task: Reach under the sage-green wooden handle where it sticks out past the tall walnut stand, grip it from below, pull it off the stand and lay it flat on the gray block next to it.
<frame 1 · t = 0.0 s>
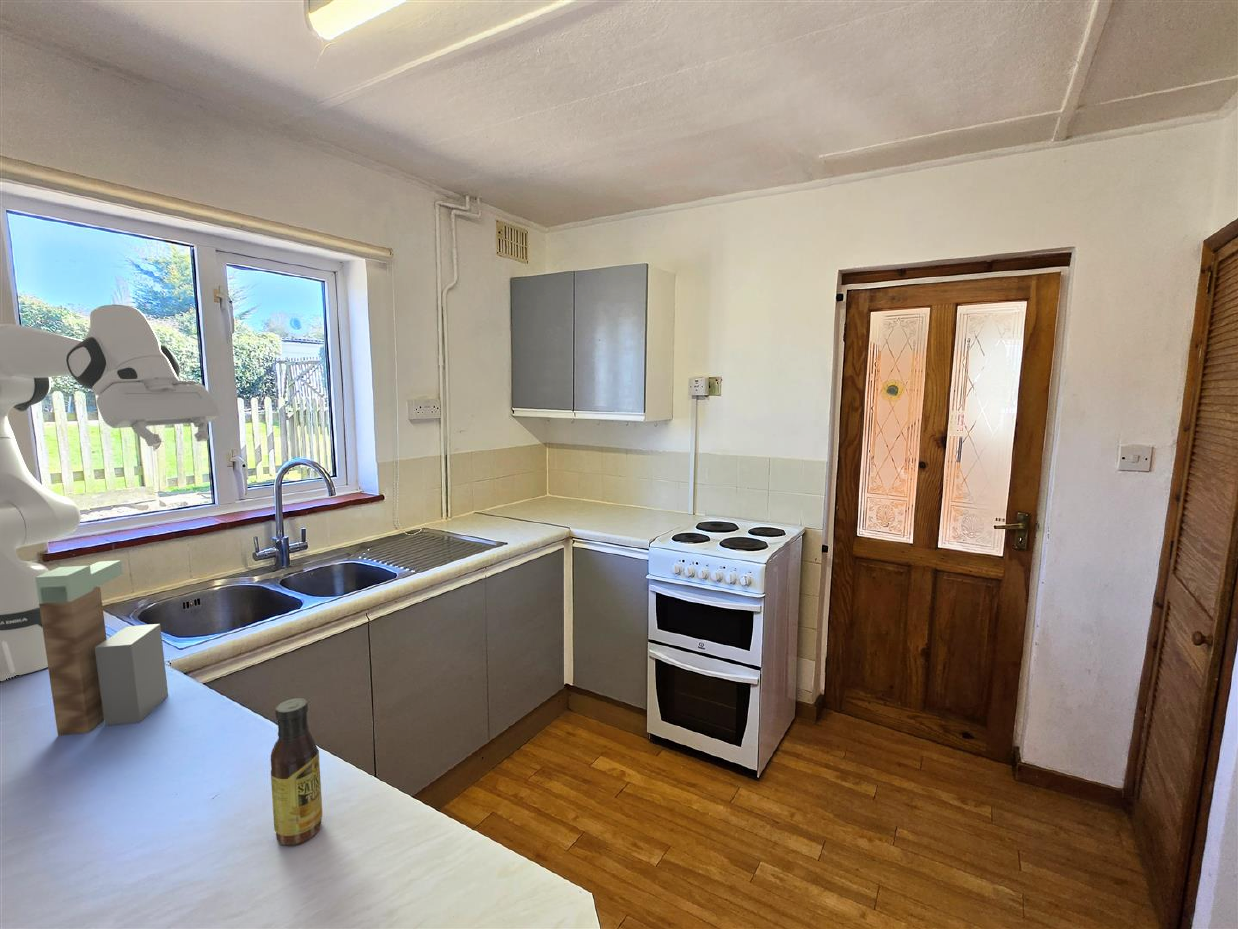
hand: (180, 442, 114), 54 cm above the table, tool tilted 30°, fingers open, 8 cm apart
sauce bottle: (300, 832, 86), on the table
walnut stand: (87, 722, 114), on the table
green handle: (85, 587, 114), point 26 cm above the table, touching walnut stand
gray block: (138, 709, 118), on the table
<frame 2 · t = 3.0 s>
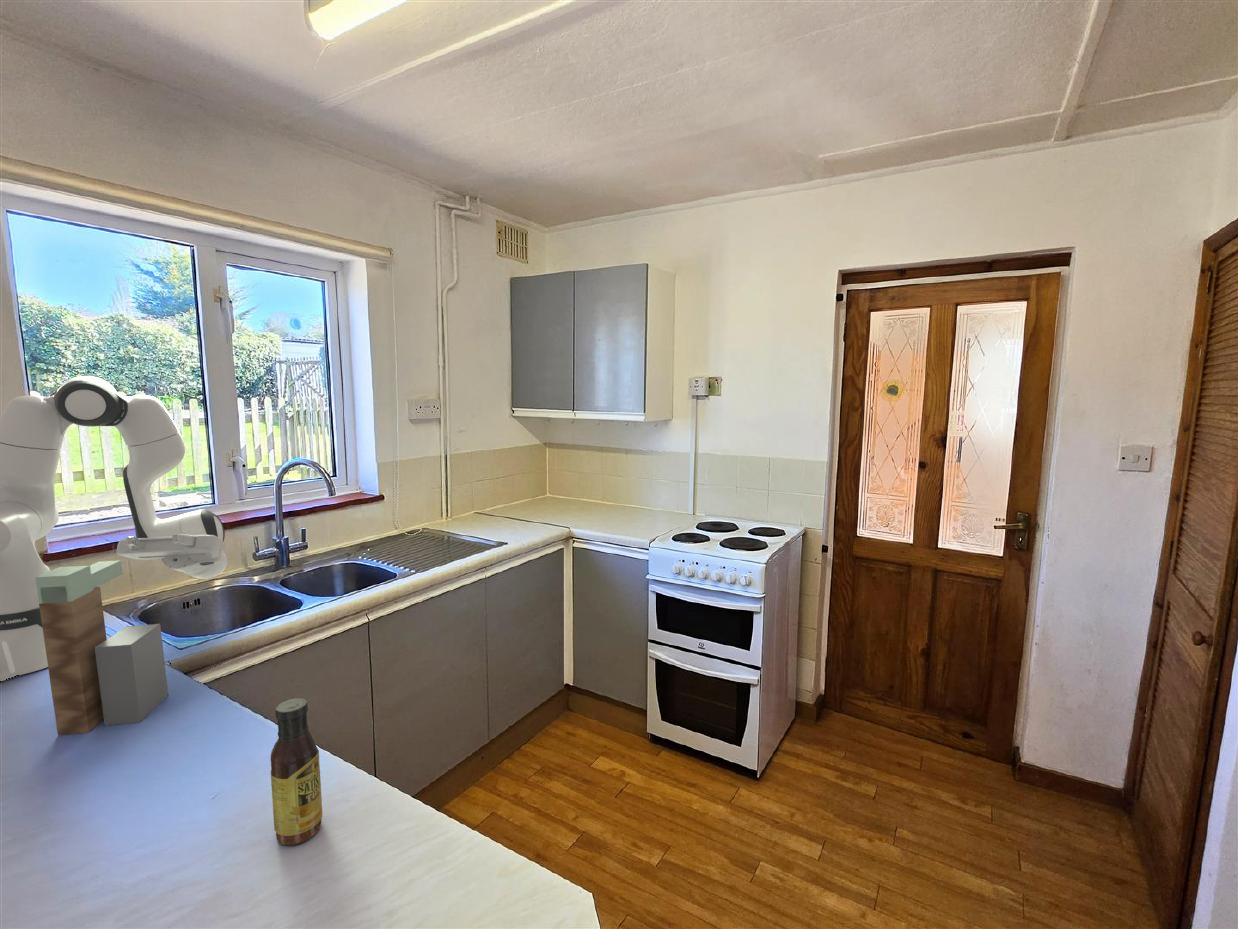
hand: (152, 538, 133), 30 cm above the table, tool pointing upward, fingers open, 8 cm apart
nothing on the table moved.
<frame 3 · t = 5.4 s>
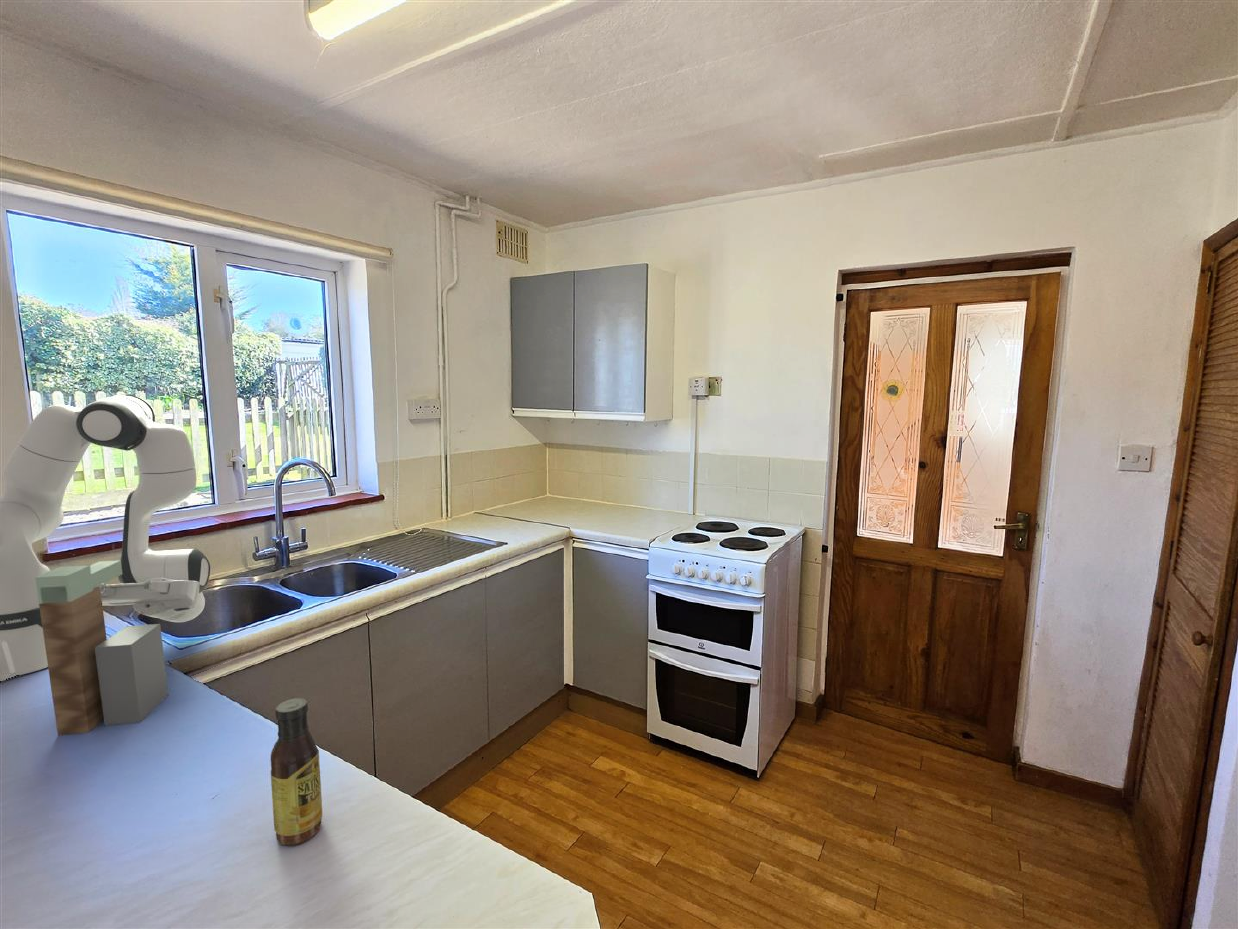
hand: (122, 586, 125), 22 cm above the table, tool pointing upward, fingers open, 8 cm apart
nothing on the table moved.
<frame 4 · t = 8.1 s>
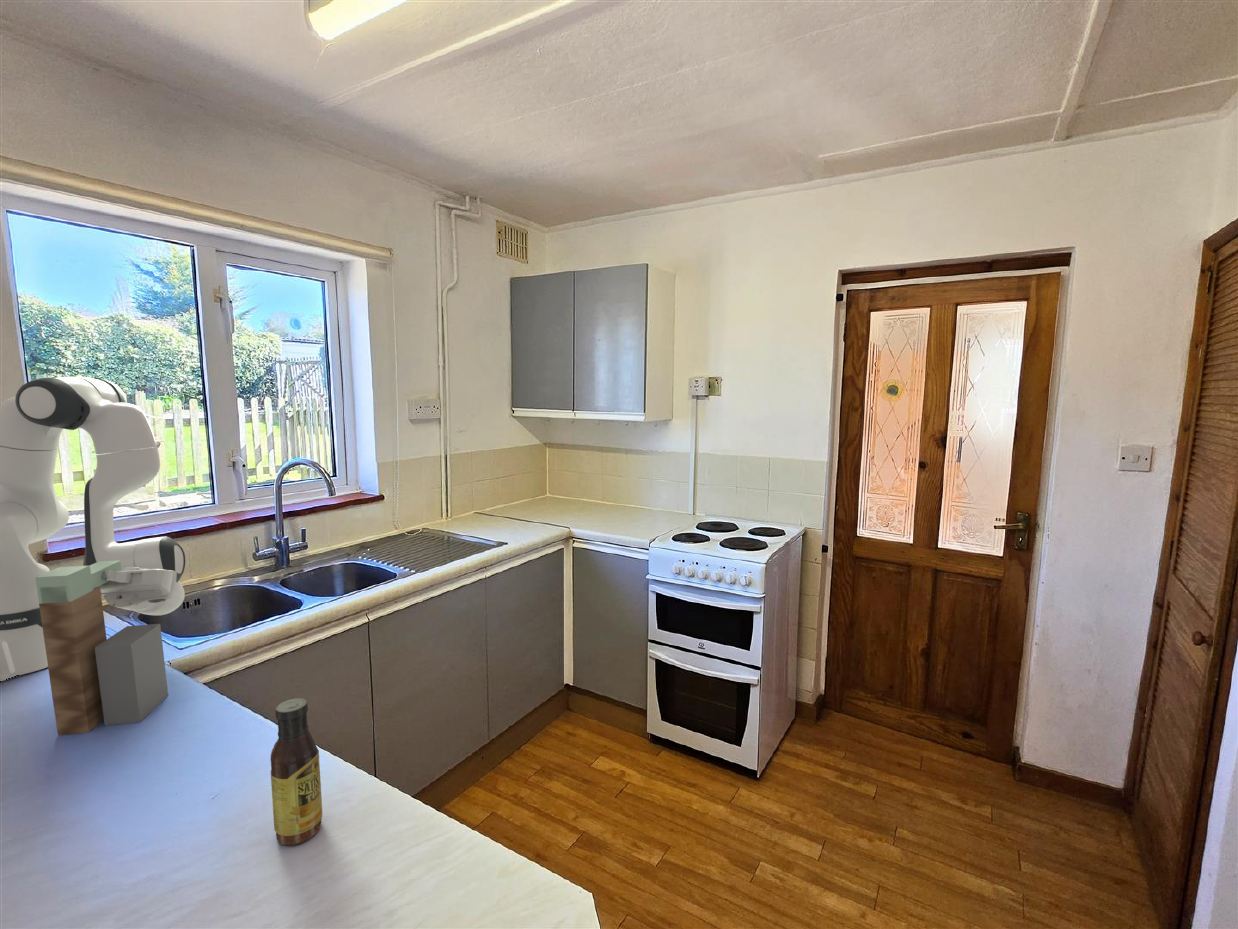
hand: (90, 575, 115), 28 cm above the table, tool pointing upward, fingers closed on green handle, 4 cm apart
green handle: (85, 587, 114), point 26 cm above the table, touching gripper, walnut stand
everything else where it was.
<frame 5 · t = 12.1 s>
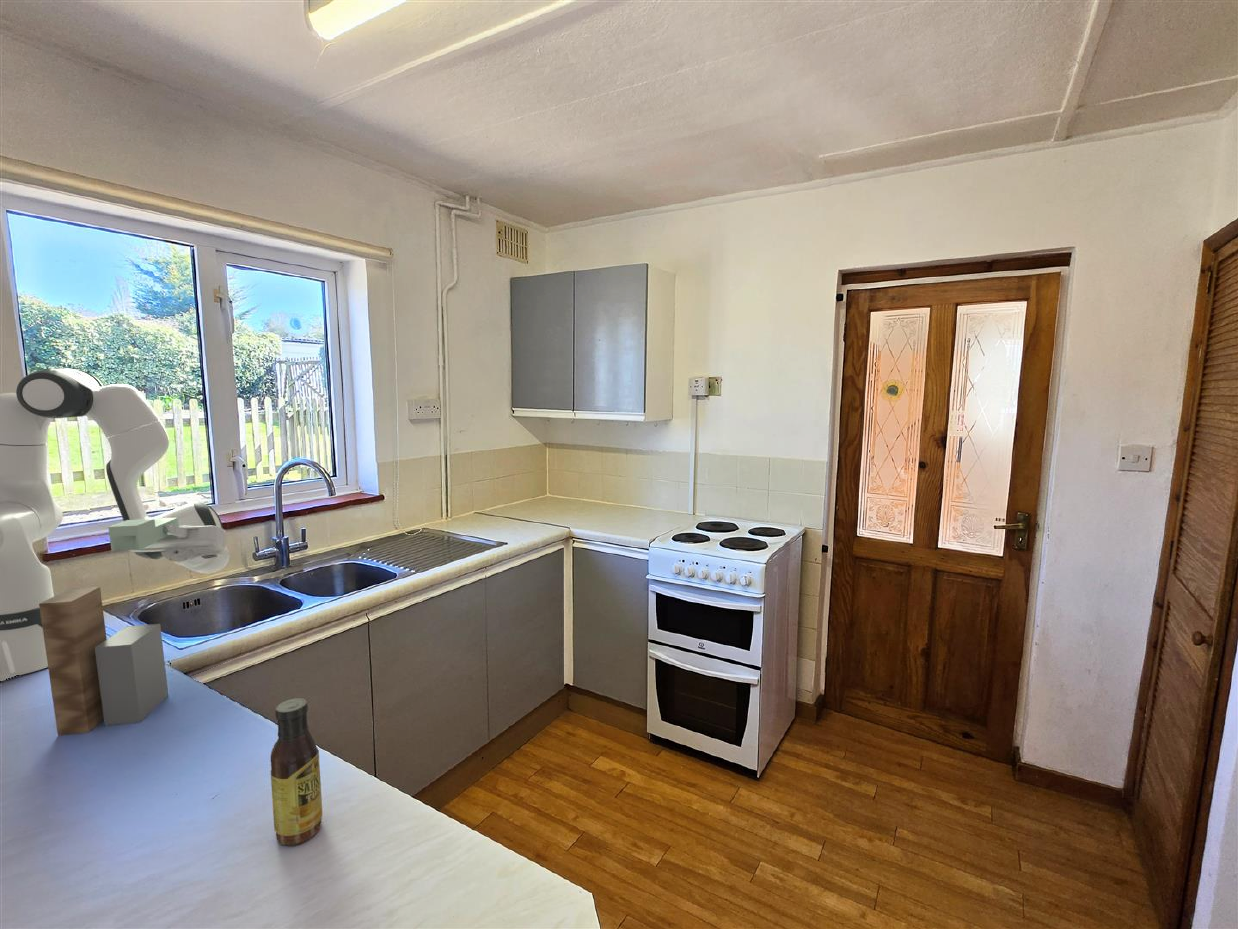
hand: (152, 529, 125), 35 cm above the table, tool pointing upward, fingers closed on green handle, 4 cm apart
green handle: (149, 540, 124), point 33 cm above the table, touching gripper
everything else where it was.
when the fingers open (20 cm above the table, at t = 16.5 s): green handle drops 2 cm, resting on gray block.
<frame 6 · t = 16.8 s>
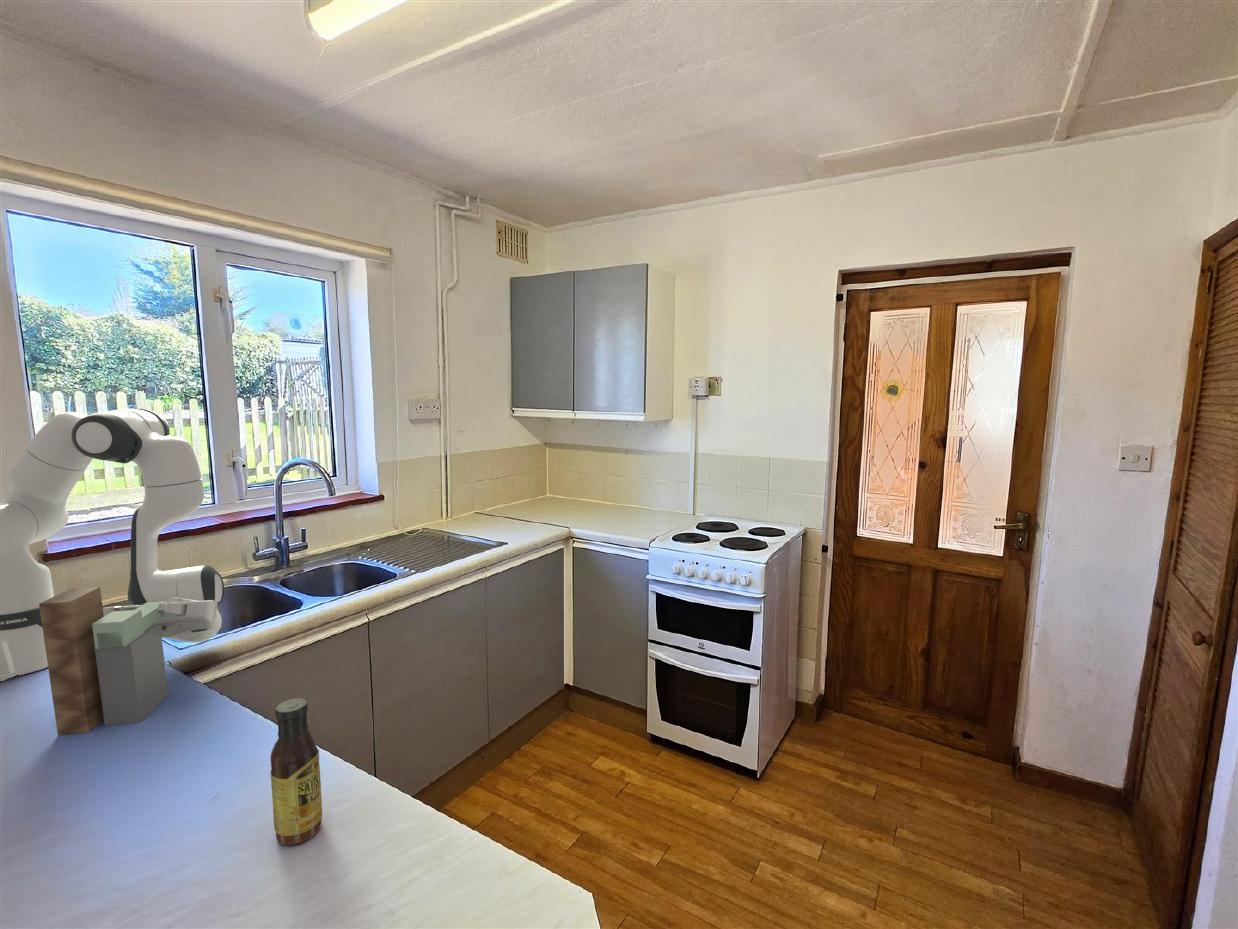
hand: (138, 608, 119), 20 cm above the table, tool pointing upward, fingers open, 7 cm apart
green handle: (136, 630, 118), point 16 cm above the table, touching gray block
everything else where it was.
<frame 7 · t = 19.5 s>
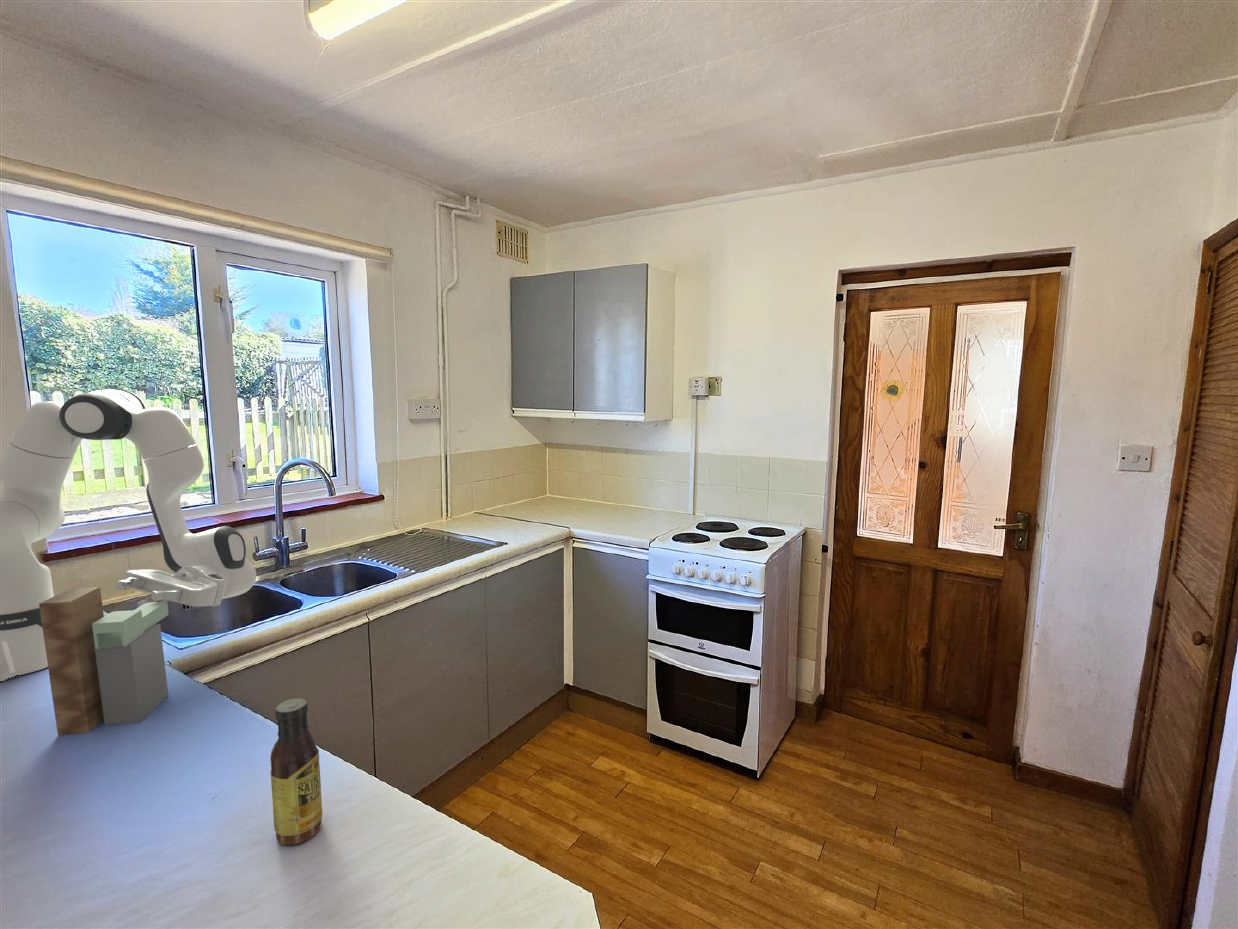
hand: (136, 590, 125), 21 cm above the table, tool horizontal, fingers open, 8 cm apart
nothing on the table moved.
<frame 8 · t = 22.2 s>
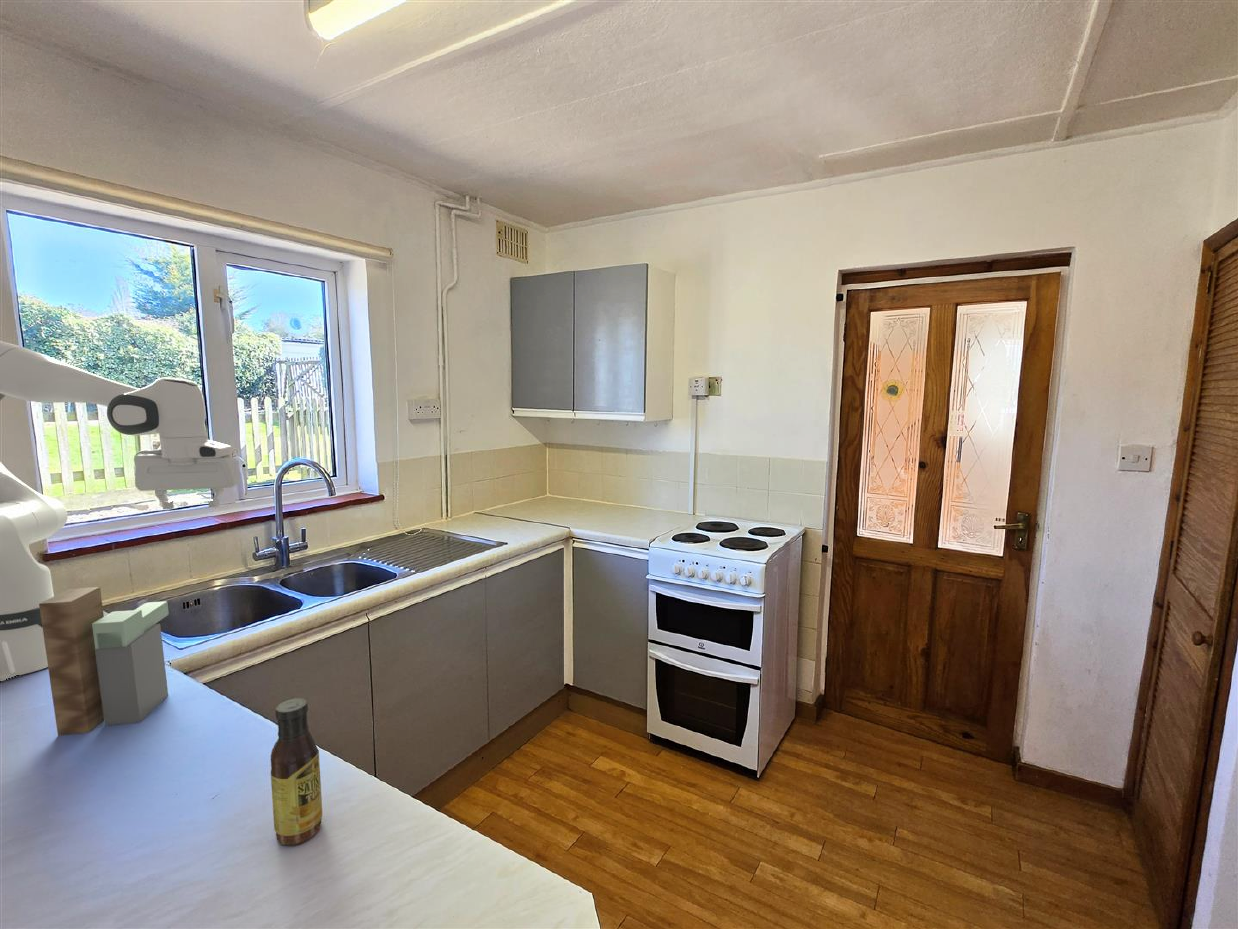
hand: (191, 508, 135), 37 cm above the table, tool pointing down, fingers open, 8 cm apart
nothing on the table moved.
at the end: green handle inside the target area (0.2 cm from its centre), point 16.0 cm above the table; green handle touching gray block; green handle tilted 0° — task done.
